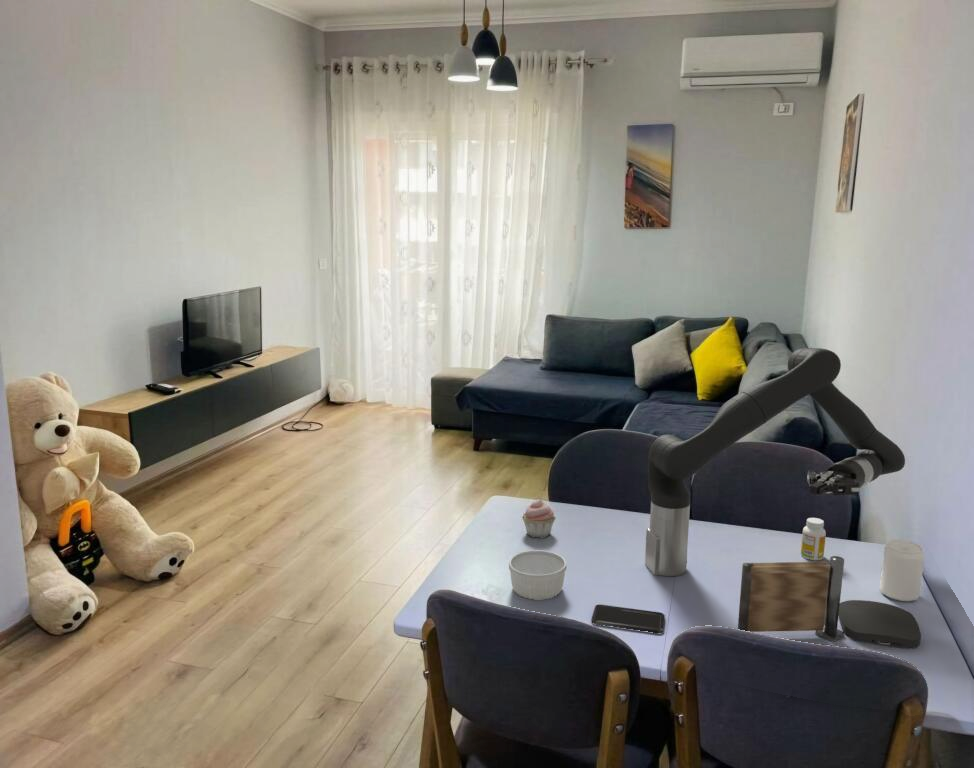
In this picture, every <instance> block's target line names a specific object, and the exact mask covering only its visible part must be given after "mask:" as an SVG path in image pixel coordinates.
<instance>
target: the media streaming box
mask: <svg viewBox="0 0 974 768" xmlns="http://www.w3.org/2000/svg"><path fill="white" fill-rule="evenodd" d="M838 621H839V623H840V627H841V631H843V632H844V635H845V636H846V637H847V638H849V639H851V640H853V641H856V642H859V643H866V644H871V645H876V646H884V647H891V648H899V649H906V650H909V649H916V648H918V647H919V646H920V645H921V638H922V632H921V628H920V626H919V623H918V621H917V619H916V617H915V616H914V615H913V613H911V612H909V611H908V610H906V609H904V608H902V607H900V606H897V605H893V604H889V603H884V602H880V601H872V600H863V599H862V600H861V599H860V600H859V599H854V600H853V599H849V600H844V601H840V606H839V615H838Z"/></svg>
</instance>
